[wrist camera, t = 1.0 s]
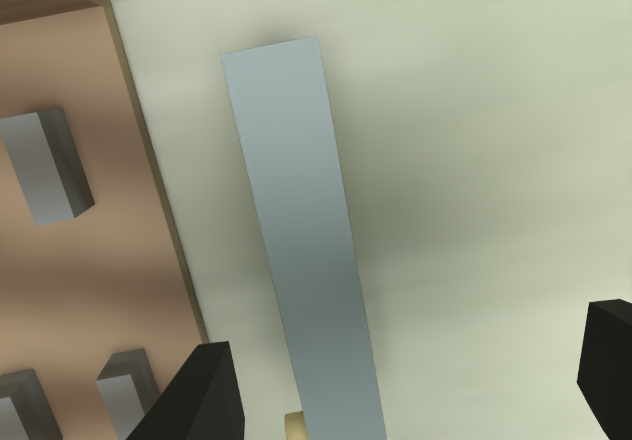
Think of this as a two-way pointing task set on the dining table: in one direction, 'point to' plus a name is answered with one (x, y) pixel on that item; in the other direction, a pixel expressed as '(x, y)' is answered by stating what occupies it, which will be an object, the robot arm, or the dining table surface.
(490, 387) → the dining table surface
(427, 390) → the dining table surface
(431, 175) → the dining table surface
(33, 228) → the hinge rail
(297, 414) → the door panel
